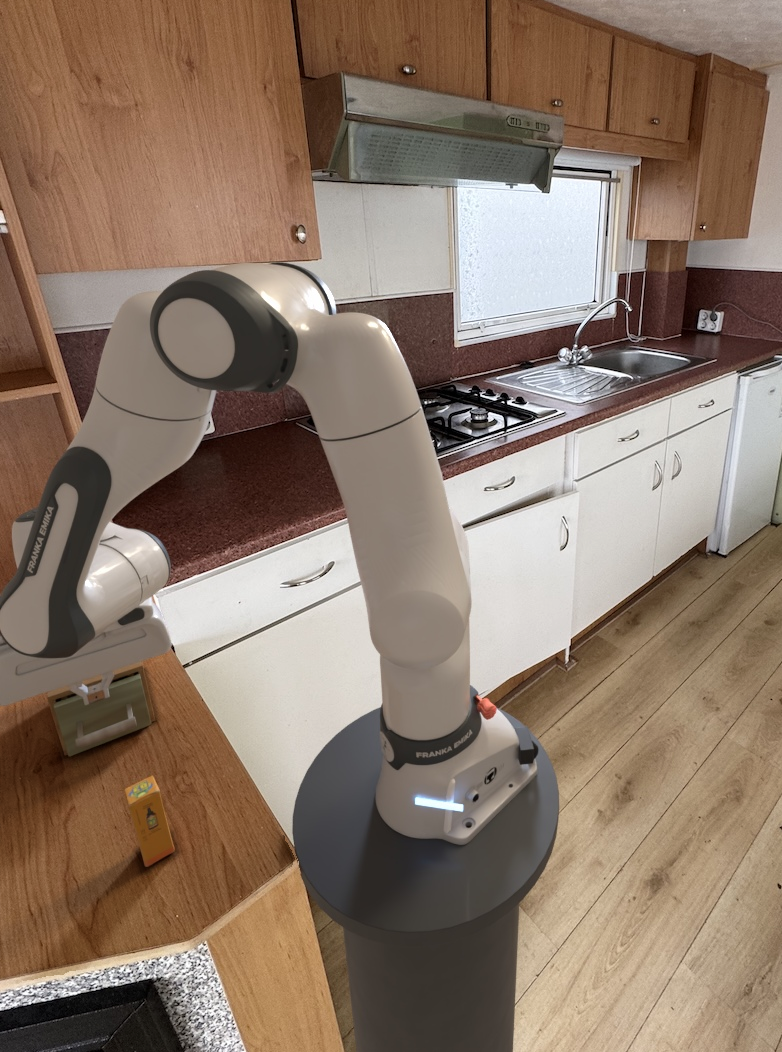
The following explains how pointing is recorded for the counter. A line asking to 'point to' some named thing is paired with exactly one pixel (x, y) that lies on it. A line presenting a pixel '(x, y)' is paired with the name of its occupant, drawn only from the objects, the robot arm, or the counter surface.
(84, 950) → the counter surface
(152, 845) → the supplement box
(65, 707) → the drawer
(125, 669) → the cabinet
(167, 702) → the counter surface
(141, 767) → the counter surface
